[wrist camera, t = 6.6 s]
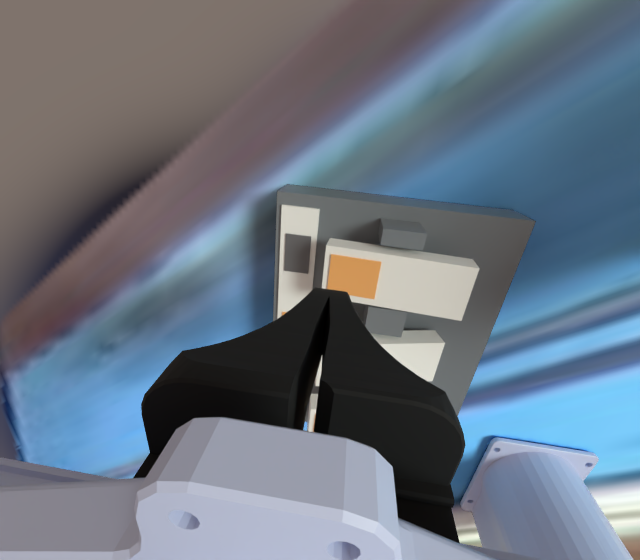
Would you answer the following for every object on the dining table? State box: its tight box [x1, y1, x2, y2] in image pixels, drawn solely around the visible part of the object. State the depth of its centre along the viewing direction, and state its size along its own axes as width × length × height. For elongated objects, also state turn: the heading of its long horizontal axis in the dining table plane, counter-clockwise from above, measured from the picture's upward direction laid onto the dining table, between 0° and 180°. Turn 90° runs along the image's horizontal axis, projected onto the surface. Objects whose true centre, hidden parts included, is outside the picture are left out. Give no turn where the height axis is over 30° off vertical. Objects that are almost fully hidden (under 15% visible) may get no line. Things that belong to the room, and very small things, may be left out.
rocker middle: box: [315, 330, 445, 386], centre depth 18 cm, size 3×7×1 cm, turn 85°
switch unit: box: [273, 184, 536, 422], centre depth 19 cm, size 16×13×4 cm
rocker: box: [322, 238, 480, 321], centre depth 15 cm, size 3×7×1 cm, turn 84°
